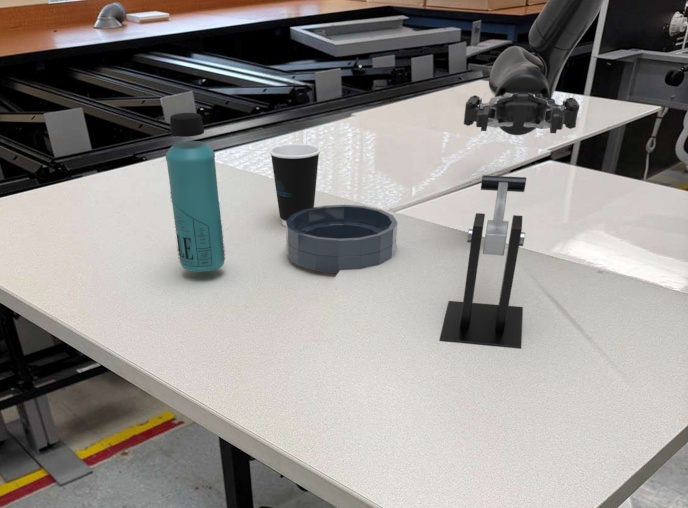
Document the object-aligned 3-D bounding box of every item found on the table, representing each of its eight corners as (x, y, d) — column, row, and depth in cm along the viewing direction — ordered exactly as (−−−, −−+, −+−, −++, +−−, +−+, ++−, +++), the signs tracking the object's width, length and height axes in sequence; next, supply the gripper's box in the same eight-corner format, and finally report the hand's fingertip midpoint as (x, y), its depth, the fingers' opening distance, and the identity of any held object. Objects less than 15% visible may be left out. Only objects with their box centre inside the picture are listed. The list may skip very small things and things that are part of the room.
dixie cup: (265, 228, 114) (261, 154, 108) (281, 213, 120) (279, 142, 113) (312, 233, 113) (311, 157, 106) (326, 217, 118) (327, 144, 111)
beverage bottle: (235, 269, 101) (222, 110, 89) (211, 286, 97) (194, 121, 84) (195, 263, 103) (177, 106, 91) (171, 279, 99) (148, 117, 86)
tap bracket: (447, 309, 90) (459, 202, 81) (521, 315, 88) (541, 207, 80) (438, 348, 81) (451, 234, 73) (519, 356, 80) (541, 240, 71)
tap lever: (481, 188, 86) (483, 169, 84) (523, 191, 85) (527, 171, 83) (469, 253, 78) (472, 233, 76) (516, 256, 77) (520, 236, 75)
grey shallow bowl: (383, 236, 111) (385, 202, 108) (404, 273, 99) (407, 237, 96) (283, 241, 110) (282, 207, 107) (292, 279, 98) (291, 243, 95)
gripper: (473, 67, 100) (465, 87, 88) (579, 69, 97) (586, 89, 85) (467, 127, 105) (458, 153, 93) (568, 130, 102) (572, 158, 90)
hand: (519, 123), depth 89 cm, fingers open, 8 cm apart
